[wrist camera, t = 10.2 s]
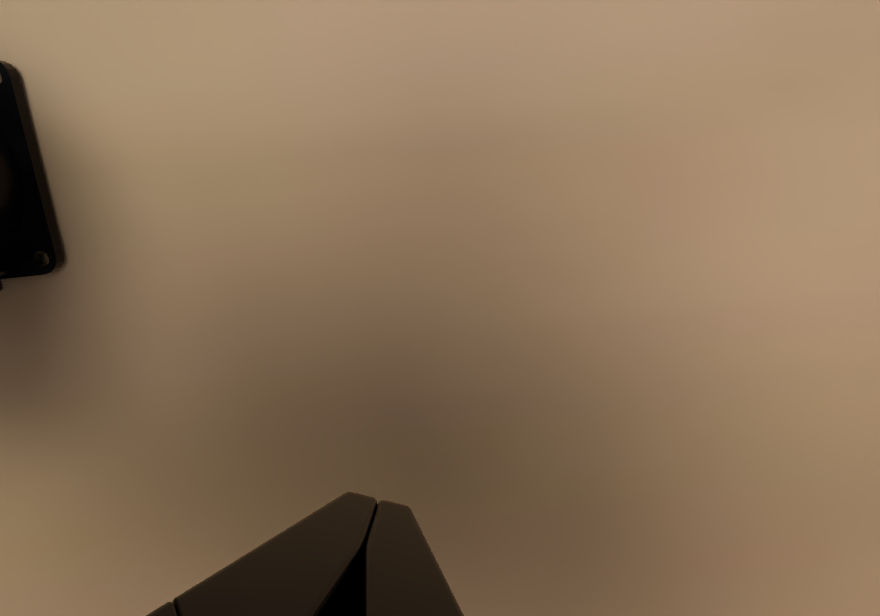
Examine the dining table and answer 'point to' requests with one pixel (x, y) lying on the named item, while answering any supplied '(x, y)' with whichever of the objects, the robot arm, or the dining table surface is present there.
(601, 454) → the dining table surface
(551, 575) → the dining table surface
